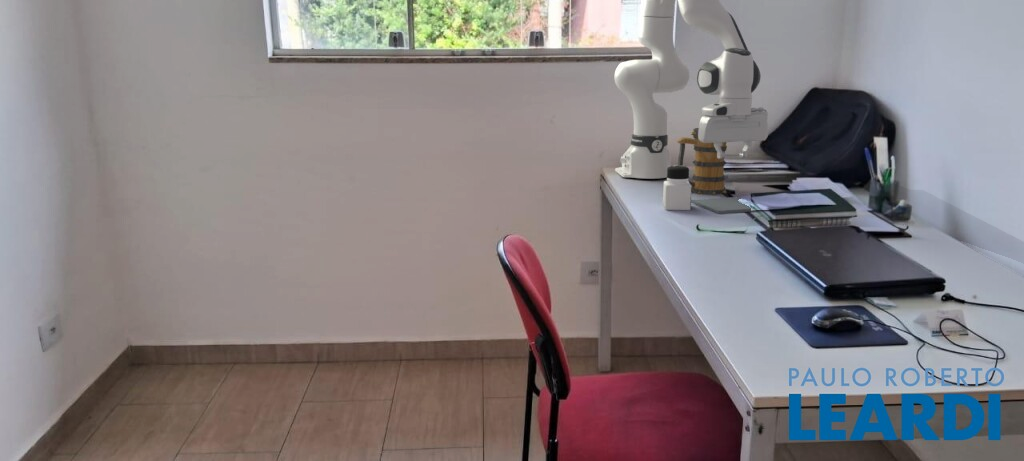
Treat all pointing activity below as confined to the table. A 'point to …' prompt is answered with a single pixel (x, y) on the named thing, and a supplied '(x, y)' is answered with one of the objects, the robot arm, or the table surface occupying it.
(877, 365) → the table surface
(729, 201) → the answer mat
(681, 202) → the medicine bottle
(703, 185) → the mug
